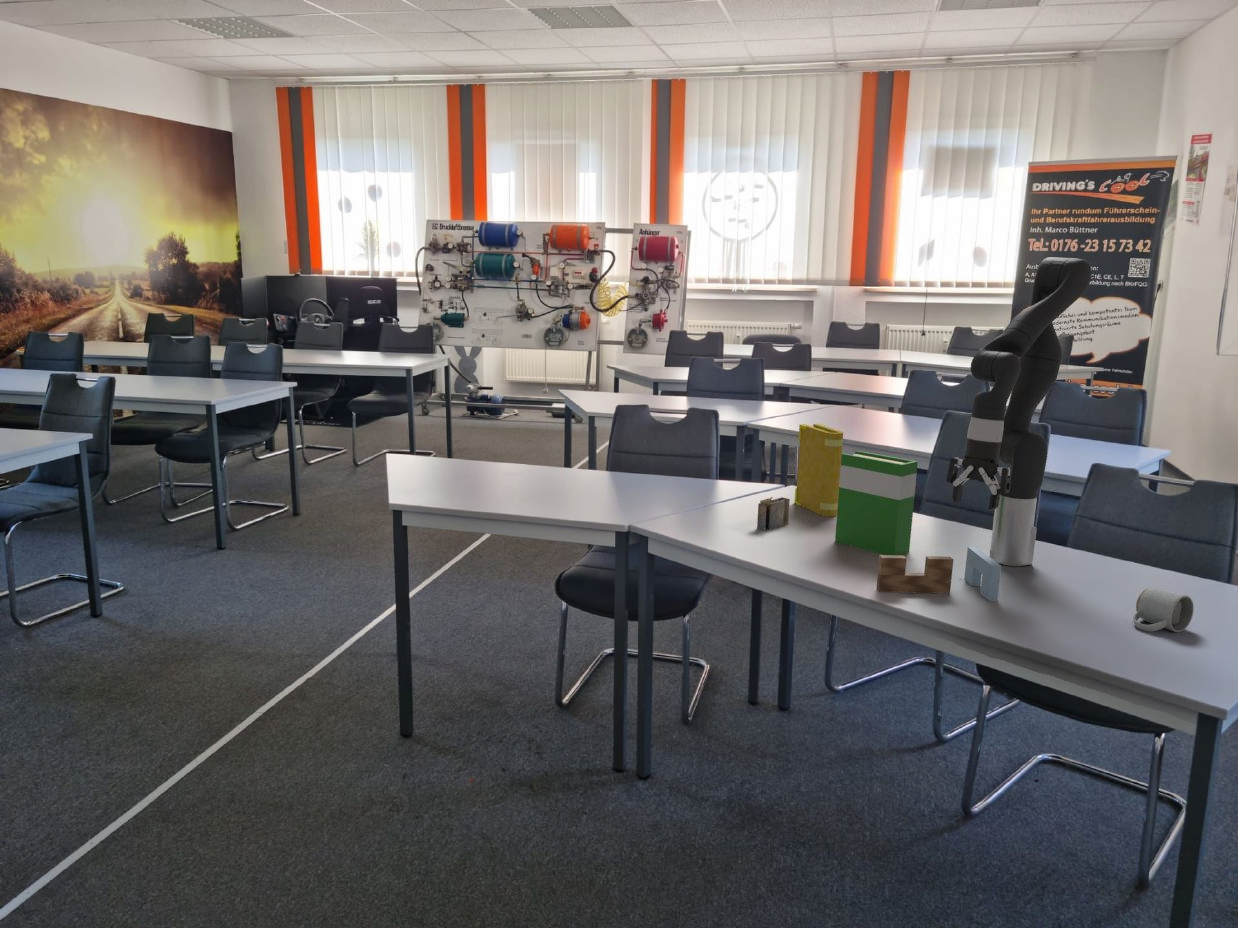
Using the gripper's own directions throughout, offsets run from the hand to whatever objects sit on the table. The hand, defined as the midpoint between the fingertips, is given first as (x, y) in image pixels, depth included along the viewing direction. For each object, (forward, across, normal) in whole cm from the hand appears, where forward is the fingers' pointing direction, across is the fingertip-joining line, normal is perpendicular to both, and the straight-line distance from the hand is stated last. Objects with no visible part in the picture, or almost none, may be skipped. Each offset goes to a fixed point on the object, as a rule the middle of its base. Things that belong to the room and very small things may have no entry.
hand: (974, 505), depth 207 cm
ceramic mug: (+17, -41, -2) cm, 44 cm away
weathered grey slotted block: (+19, +56, +1) cm, 59 cm away
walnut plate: (+18, +2, +19) cm, 26 cm away
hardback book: (+18, +28, -4) cm, 33 cm away
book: (+17, +60, -25) cm, 67 cm away
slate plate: (+18, -7, +6) cm, 20 cm away
